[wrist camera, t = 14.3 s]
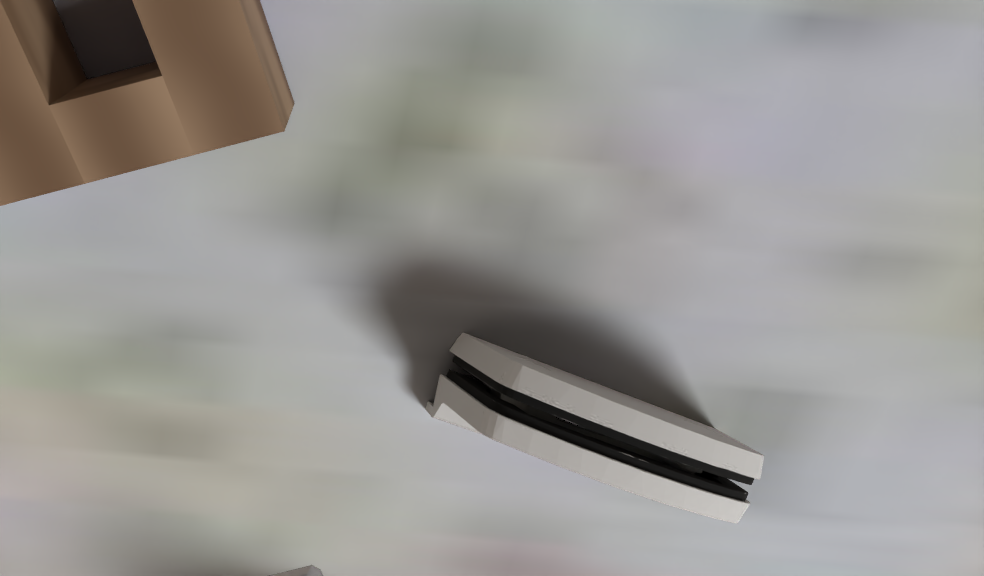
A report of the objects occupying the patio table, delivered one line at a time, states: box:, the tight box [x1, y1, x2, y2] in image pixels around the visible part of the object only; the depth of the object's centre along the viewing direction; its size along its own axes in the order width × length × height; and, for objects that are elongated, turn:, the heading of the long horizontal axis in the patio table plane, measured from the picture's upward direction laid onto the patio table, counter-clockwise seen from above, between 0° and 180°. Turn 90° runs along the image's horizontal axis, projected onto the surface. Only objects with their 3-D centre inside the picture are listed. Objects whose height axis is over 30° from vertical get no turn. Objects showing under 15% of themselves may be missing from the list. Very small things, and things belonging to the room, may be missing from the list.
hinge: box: [426, 333, 764, 523], centre depth 45 cm, size 17×5×10 cm, turn 64°
